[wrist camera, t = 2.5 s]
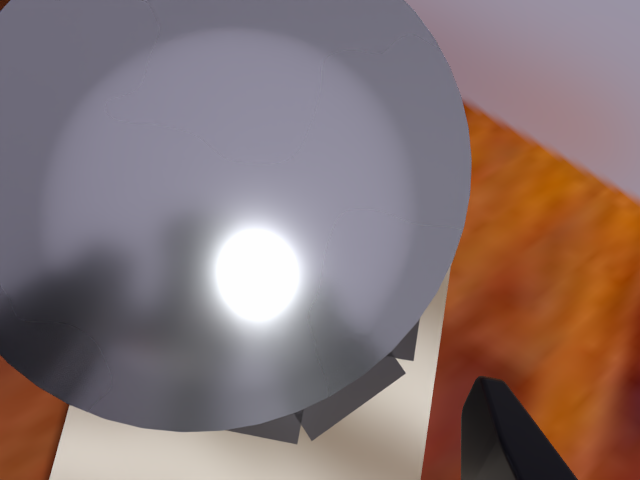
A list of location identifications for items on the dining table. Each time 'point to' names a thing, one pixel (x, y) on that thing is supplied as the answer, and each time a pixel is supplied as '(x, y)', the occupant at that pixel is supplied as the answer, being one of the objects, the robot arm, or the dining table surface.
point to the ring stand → (282, 430)
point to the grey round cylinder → (220, 200)
